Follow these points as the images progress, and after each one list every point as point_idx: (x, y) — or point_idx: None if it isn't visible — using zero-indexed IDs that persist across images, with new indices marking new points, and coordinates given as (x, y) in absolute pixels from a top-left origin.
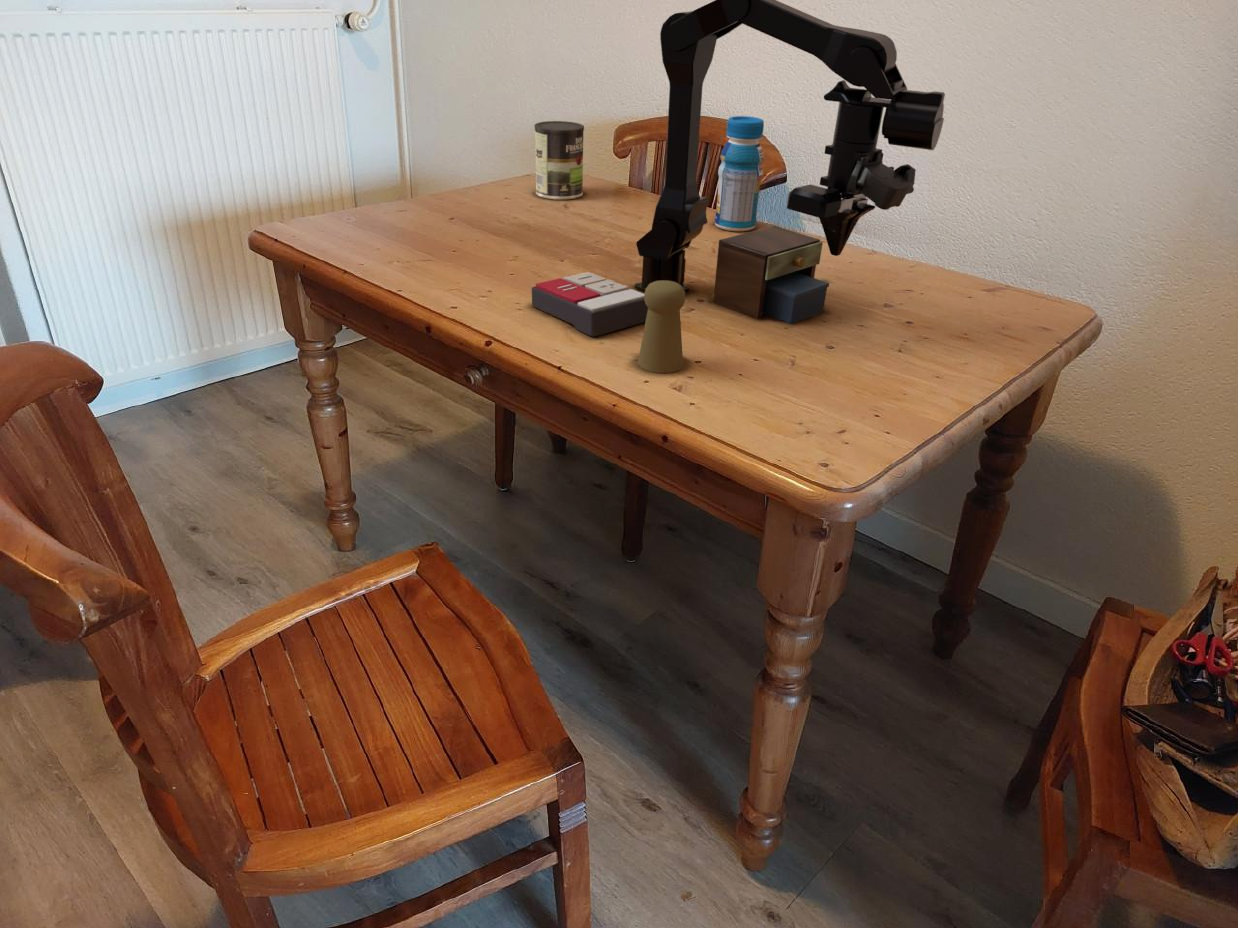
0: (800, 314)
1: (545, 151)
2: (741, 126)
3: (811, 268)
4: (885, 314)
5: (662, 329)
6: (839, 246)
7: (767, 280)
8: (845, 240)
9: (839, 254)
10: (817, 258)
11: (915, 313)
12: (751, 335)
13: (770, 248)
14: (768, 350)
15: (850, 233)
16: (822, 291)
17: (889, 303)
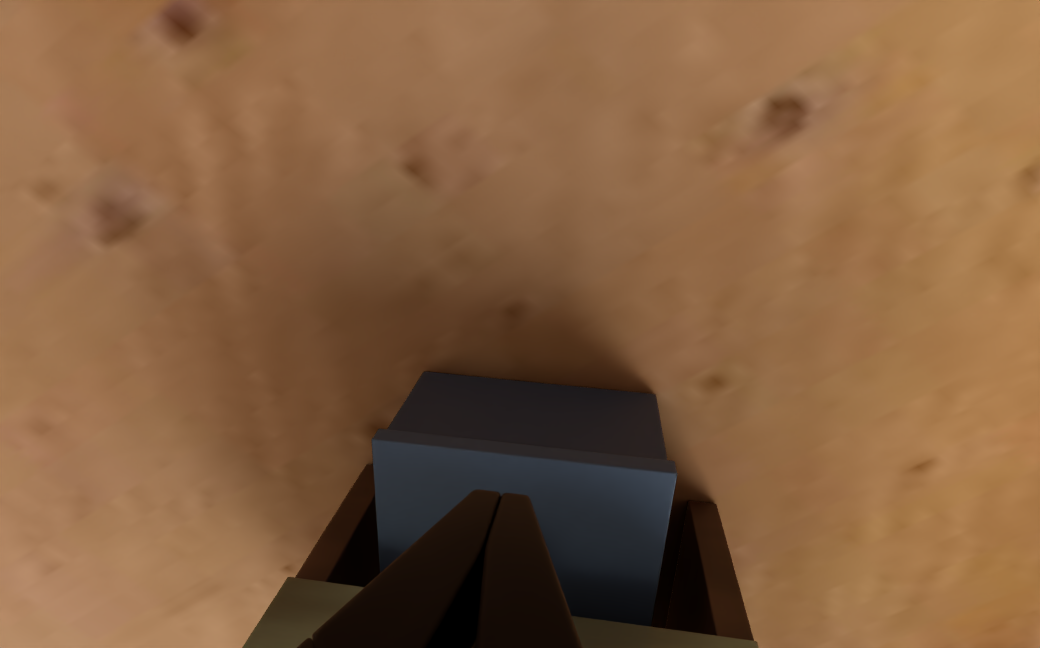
0: (593, 401)
1: None
2: None
3: (330, 579)
4: (203, 169)
5: None
6: (530, 554)
7: None
8: (434, 579)
9: (489, 492)
10: (294, 610)
11: (63, 74)
12: (901, 437)
13: None
14: (1030, 300)
15: (332, 631)
16: (426, 428)
17: (88, 230)
